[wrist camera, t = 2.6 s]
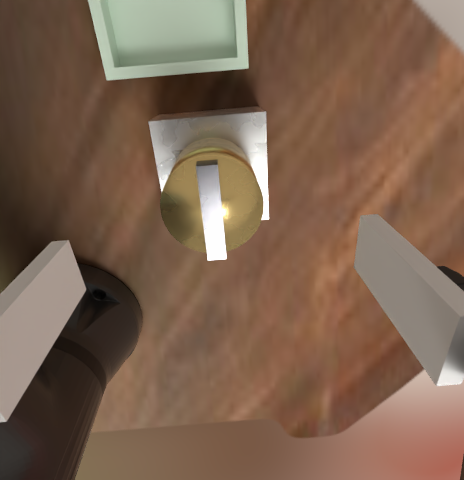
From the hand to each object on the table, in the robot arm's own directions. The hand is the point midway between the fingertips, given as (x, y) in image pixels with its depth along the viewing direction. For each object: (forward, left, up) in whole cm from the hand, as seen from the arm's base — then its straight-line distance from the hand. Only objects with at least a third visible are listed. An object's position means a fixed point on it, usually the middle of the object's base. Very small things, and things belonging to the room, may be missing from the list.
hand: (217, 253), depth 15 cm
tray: (-2, +13, -18) cm, 22 cm away
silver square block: (0, 0, -18) cm, 18 cm away
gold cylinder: (0, 0, -18) cm, 18 cm away
